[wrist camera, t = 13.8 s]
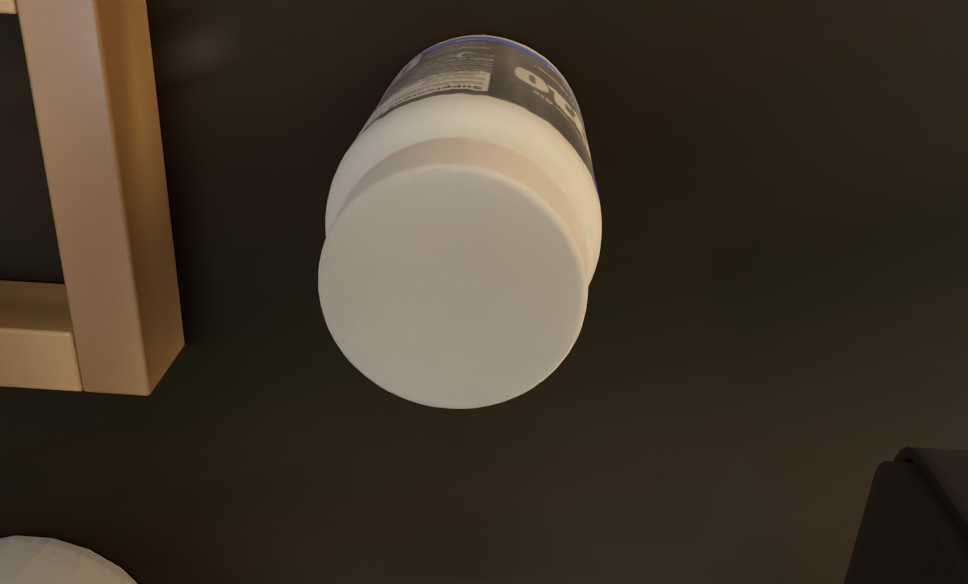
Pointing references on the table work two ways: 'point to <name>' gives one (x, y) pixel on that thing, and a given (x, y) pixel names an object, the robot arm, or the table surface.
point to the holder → (96, 207)
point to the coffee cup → (54, 563)
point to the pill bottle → (463, 228)
